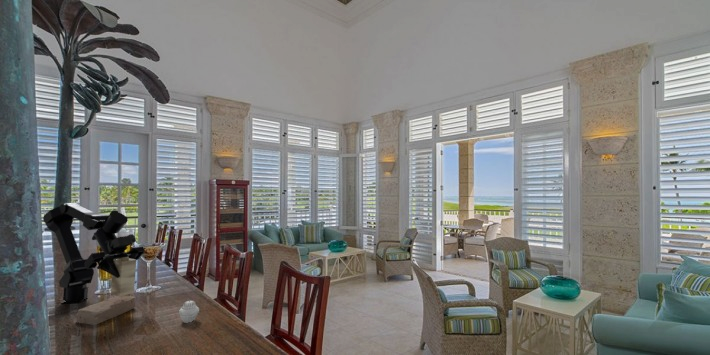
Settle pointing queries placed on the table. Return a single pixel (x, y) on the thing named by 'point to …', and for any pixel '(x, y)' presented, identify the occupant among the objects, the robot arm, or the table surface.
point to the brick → (105, 309)
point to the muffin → (188, 311)
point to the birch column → (124, 277)
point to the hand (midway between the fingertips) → (126, 275)
